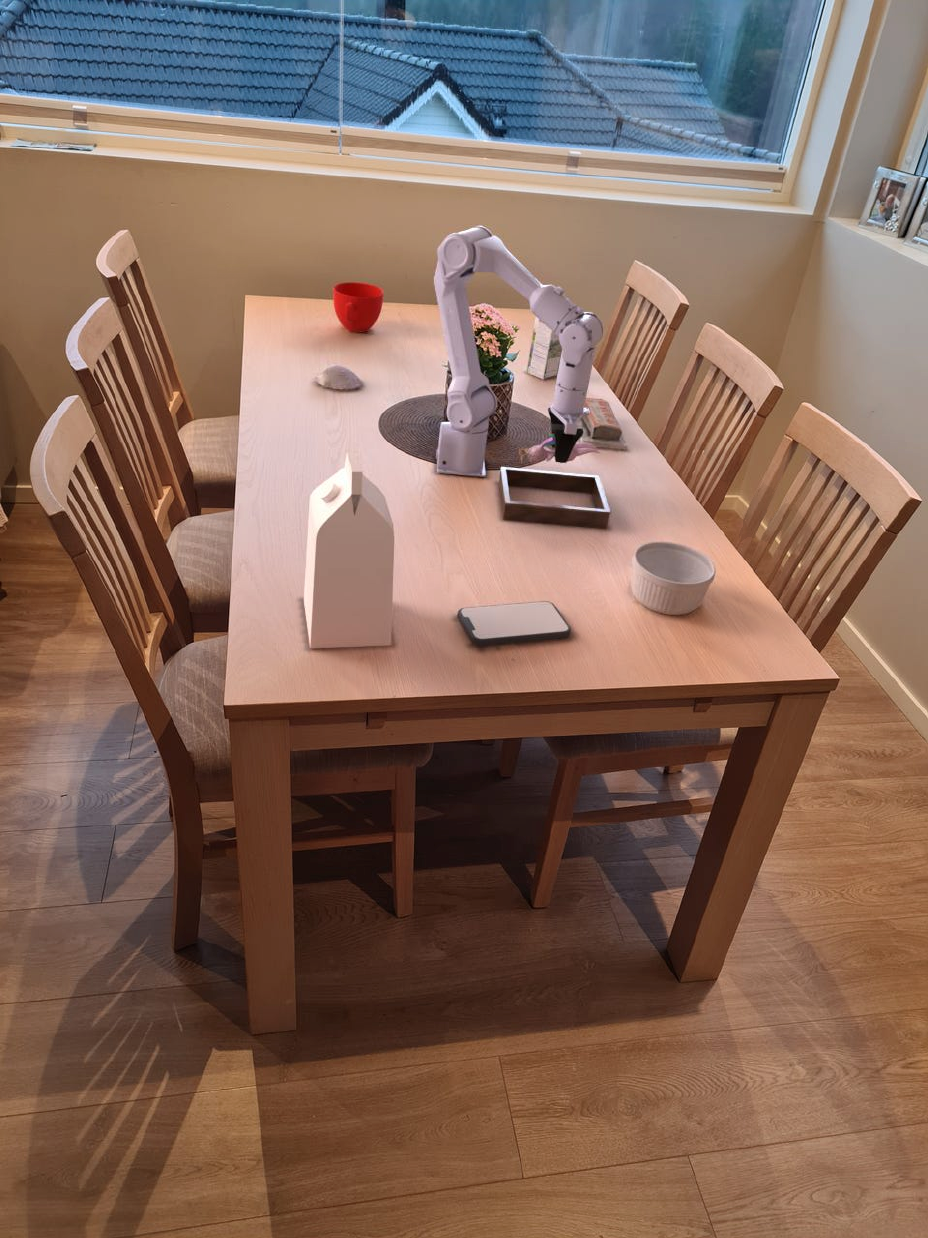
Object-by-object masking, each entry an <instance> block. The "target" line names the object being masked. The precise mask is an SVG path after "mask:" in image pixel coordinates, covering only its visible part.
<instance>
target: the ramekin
mask: <svg viewBox="0 0 928 1238" xmlns="http://www.w3.org/2000/svg"><path fill="white" fill-rule="evenodd" d="M631 562H632V571H631V580H630V588H631V592H632V594H633V596H634V598H635V600H637V602H639V603H640V604H641V605H642V606H644V607H645V608H647V609H649V610H650V611H653V612H656V613H659V614H663V615H669V616H681V615H687V614H690V613H692V612H694V611H695V610H697V608H699V607H700V606H701V604H702V603H703V601H704V600H705V596H706V594H707V593H708V590H709V587H710V585H711V584H712V583H713V582H714V579H715V577H716V566H715V563H714V562H713V561H712V560H711V559H710V557H708V556H707V555H706V554H705V553H702V552H701V551H699V550H697V549H695V548H693V547H690V546H688V545H686V544H682V543H678V542H672V541H649V542H646V543H643V544H641V545H639V546H638V547H637V548H636V549H635V550H634V552H633V556H632V561H631Z"/></svg>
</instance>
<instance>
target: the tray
mask: <svg viewBox="0 0 928 1238" xmlns="http://www.w3.org/2000/svg"><path fill="white" fill-rule="evenodd" d="M509 487H514V488H515V487H517V488H527V489H539V490H549V491H550V490H551V491H560V492H571V493H572V492H573V493H582V494H591V495H592V498H593V502H594V505H595V508H594V507H583V506H572V505H561V504H549V503H539V502H538V503H537V502H528V501H513V500H511V497H510V490H509ZM498 490H499V499H500V506H501V514H502V515H501V516H502V520H504V521H513V522H524V523H537V524H546V525H547V524H549V525H557V526H559V525H560V526H571V527H581V528H583V527H584V528H595V529H605V530H606V529H607V528H608V523H609V519H610V515H611V513H612V512H611V508H610V505H609V502H608V500H607V496H606V493H605V490H604V486H603V483H602V480H601V477H600V476H599V475H595V474H584V473H573V472H562V471H554V470H553V471H552V470H551V471H550V470H540V469H531V468H518V467H509V466H500V469H499V478H498Z"/></svg>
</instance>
